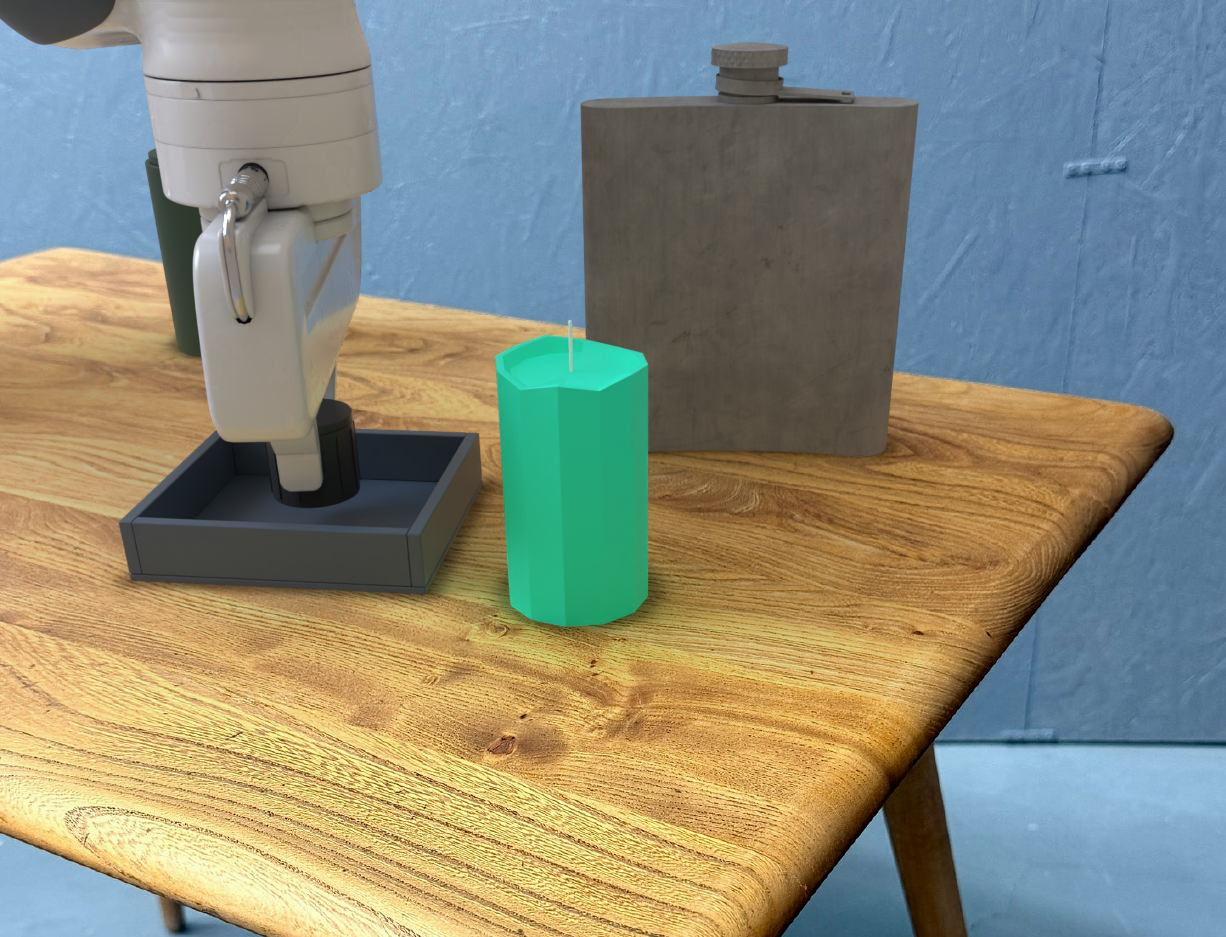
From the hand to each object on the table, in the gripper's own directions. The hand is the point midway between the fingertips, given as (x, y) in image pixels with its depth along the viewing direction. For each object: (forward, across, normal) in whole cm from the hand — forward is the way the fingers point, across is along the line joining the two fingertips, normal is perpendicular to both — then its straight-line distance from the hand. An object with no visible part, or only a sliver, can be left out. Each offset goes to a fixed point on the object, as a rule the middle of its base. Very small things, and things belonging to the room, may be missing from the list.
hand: (312, 462), depth 60 cm
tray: (+4, 0, 0) cm, 4 cm away
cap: (+1, 0, 0) cm, 1 cm away
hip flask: (+4, +9, -21) cm, 23 cm away
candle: (+4, -7, -12) cm, 14 cm away
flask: (+4, +30, +10) cm, 32 cm away
